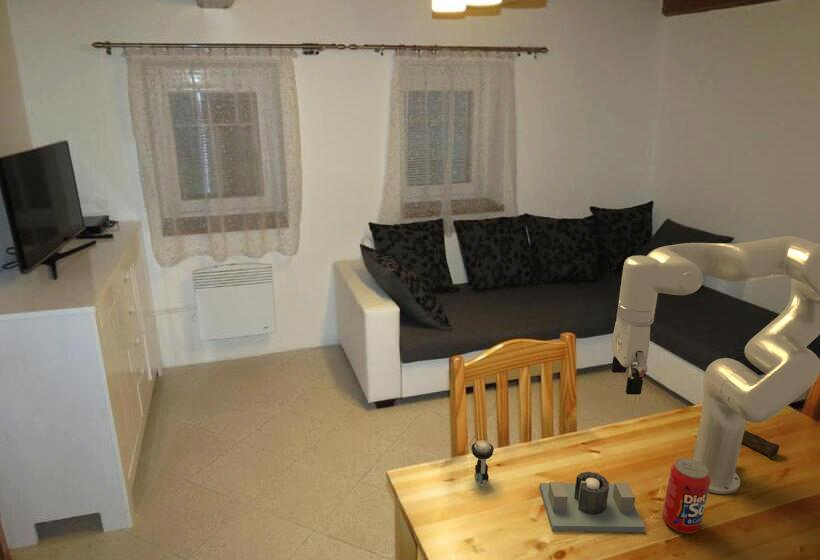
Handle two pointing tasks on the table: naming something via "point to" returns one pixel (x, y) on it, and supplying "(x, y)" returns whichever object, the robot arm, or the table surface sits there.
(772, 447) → the dark brown bar
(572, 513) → the shaft stand
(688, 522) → the soda can
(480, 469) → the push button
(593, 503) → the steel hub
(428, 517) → the table surface
